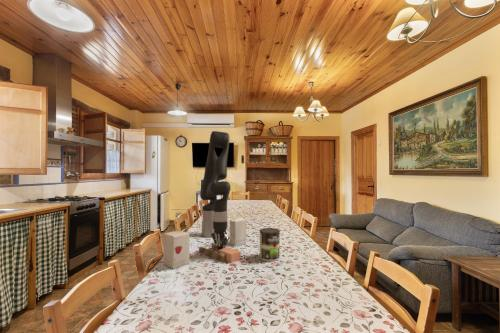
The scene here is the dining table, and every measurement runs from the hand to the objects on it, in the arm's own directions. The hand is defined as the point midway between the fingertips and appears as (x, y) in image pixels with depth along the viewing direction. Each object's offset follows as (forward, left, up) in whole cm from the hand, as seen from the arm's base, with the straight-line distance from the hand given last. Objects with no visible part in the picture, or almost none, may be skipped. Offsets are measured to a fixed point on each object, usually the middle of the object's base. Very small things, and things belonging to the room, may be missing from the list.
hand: (220, 252), depth 135 cm
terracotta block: (+7, 0, -1) cm, 7 cm away
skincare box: (-8, +20, -2) cm, 22 cm away
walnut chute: (-2, 0, -2) cm, 2 cm away
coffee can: (+20, +16, -2) cm, 26 cm away
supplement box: (-6, -22, -2) cm, 23 cm away
